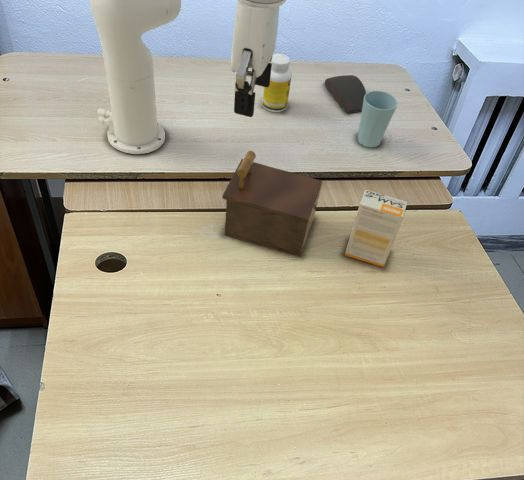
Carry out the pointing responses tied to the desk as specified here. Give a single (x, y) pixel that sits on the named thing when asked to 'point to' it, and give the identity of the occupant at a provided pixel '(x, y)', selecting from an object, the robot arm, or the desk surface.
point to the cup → (375, 117)
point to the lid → (272, 189)
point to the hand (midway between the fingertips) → (252, 99)
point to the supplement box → (375, 227)
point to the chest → (267, 227)
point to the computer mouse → (347, 92)
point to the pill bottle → (277, 84)
